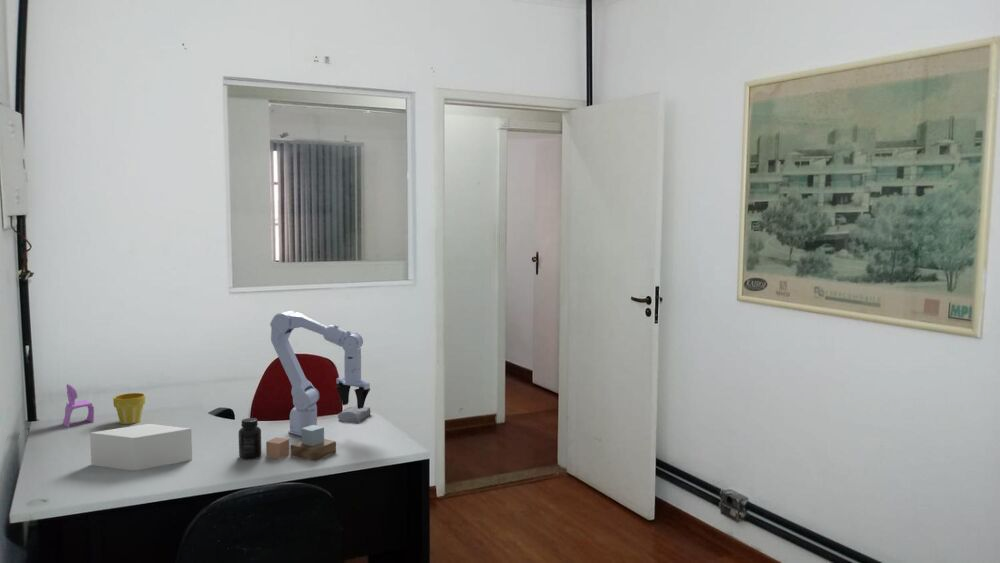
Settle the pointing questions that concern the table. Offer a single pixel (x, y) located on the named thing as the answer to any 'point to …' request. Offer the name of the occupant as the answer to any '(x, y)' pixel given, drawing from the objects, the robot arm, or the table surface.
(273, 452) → the terracotta cube
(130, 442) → the white foam block
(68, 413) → the toy chair
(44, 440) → the table surface
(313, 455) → the walnut slab
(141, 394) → the plant pot
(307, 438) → the blue-grey cube
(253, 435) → the supplement bottle
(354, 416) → the stone block
